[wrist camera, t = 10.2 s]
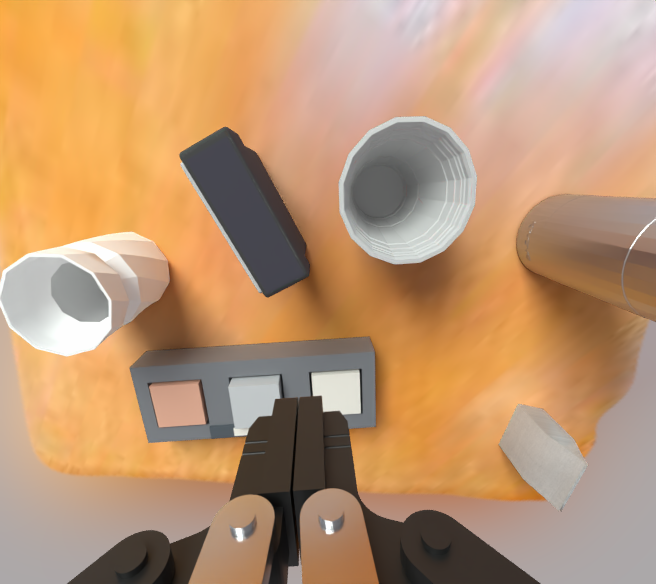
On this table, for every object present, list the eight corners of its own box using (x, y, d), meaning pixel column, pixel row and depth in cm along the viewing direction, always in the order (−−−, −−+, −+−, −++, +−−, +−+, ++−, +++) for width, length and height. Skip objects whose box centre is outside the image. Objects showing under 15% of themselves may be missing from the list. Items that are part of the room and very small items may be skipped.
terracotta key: (206, 369, 41) (198, 383, 38) (213, 408, 43) (205, 424, 40) (160, 372, 41) (149, 386, 38) (169, 411, 43) (158, 427, 40)
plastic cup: (437, 228, 38) (489, 247, 27) (343, 251, 39) (355, 280, 27) (421, 124, 35) (473, 95, 24) (319, 151, 36) (322, 135, 24)
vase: (76, 272, 38) (-25, 310, 27) (119, 213, 37) (32, 227, 25) (143, 321, 40) (75, 375, 29) (187, 267, 39) (135, 302, 27)
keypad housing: (369, 336, 42) (375, 353, 38) (370, 406, 45) (376, 429, 41) (146, 351, 42) (127, 370, 37) (162, 420, 45) (146, 445, 40)
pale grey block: (498, 444, 48) (544, 509, 38) (517, 403, 46) (571, 461, 36) (522, 448, 48) (573, 514, 39) (542, 408, 46) (601, 466, 37)
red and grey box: (224, 168, 36) (165, 158, 22) (260, 148, 35) (224, 124, 21) (278, 260, 39) (257, 304, 25) (311, 242, 38) (310, 277, 24)
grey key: (280, 369, 40) (278, 383, 37) (284, 408, 42) (282, 425, 39) (234, 372, 40) (228, 387, 37) (240, 412, 42) (234, 428, 39)
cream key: (356, 359, 42) (359, 372, 39) (357, 398, 43) (360, 413, 40) (311, 362, 41) (311, 375, 39) (314, 401, 43) (314, 416, 40)
